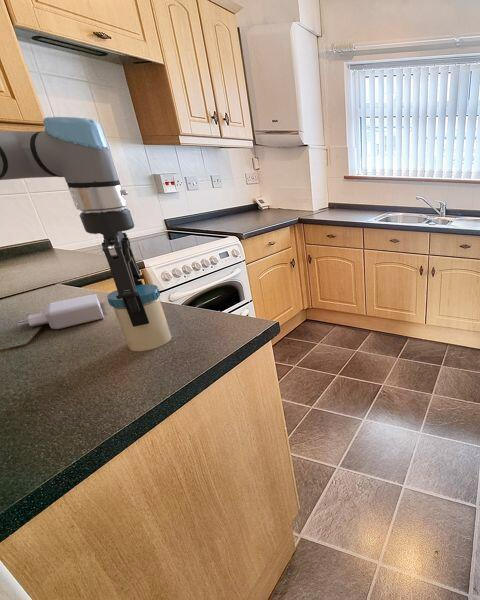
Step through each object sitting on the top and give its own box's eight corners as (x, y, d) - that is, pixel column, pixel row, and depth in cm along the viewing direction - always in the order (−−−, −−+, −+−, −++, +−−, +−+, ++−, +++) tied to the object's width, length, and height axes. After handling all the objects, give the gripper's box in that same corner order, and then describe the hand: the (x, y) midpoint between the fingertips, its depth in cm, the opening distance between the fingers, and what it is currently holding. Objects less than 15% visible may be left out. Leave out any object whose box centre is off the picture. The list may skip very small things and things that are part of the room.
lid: (159, 301, 70) (157, 293, 69) (106, 311, 66) (103, 303, 65) (160, 288, 77) (158, 281, 76) (113, 296, 73) (110, 289, 72)
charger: (23, 326, 83) (101, 308, 92) (20, 340, 77) (104, 319, 86) (14, 308, 81) (95, 292, 90) (10, 321, 75) (97, 302, 84)
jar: (126, 355, 71) (106, 305, 66) (131, 338, 77) (114, 292, 72) (170, 345, 74) (155, 297, 70) (172, 330, 81) (158, 285, 76)
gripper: (123, 215, 57) (162, 331, 67) (132, 201, 74) (163, 296, 83) (65, 220, 54) (115, 342, 63) (88, 204, 70) (125, 303, 79)
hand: (142, 316), depth 73 cm, fingers closed on lid, 9 cm apart
